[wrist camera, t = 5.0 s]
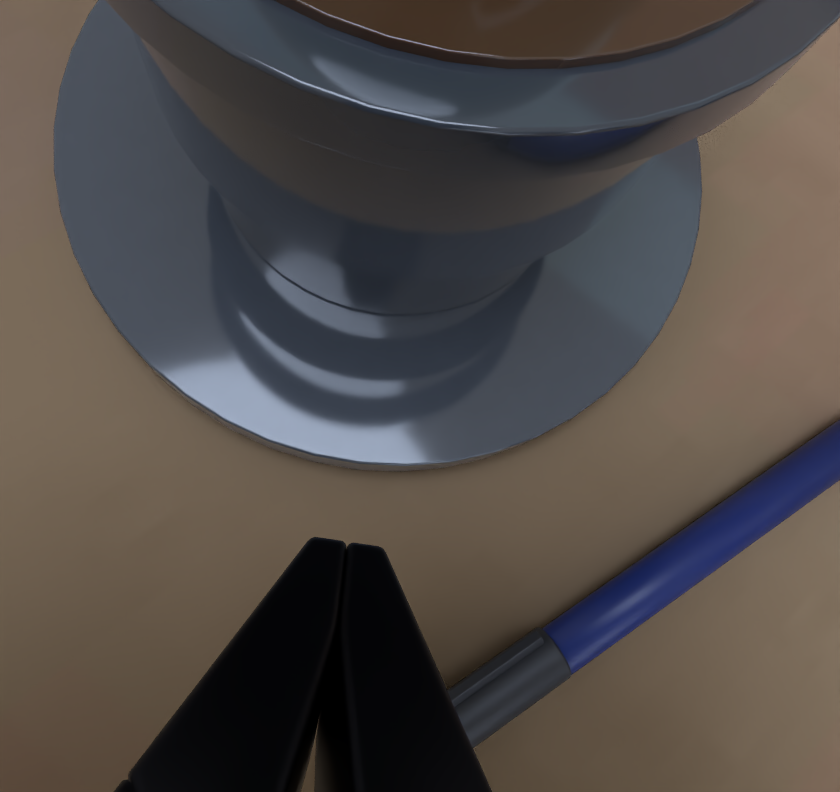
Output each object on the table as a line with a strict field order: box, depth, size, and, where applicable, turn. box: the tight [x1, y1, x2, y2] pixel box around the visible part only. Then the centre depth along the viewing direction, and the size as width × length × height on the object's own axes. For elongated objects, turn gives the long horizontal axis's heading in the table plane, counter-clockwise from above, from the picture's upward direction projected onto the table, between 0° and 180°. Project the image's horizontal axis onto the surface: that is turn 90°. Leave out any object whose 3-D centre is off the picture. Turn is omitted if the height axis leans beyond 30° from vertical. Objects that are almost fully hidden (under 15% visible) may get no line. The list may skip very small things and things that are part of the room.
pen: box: [447, 420, 840, 748], centre depth 16 cm, size 14×1×1 cm
